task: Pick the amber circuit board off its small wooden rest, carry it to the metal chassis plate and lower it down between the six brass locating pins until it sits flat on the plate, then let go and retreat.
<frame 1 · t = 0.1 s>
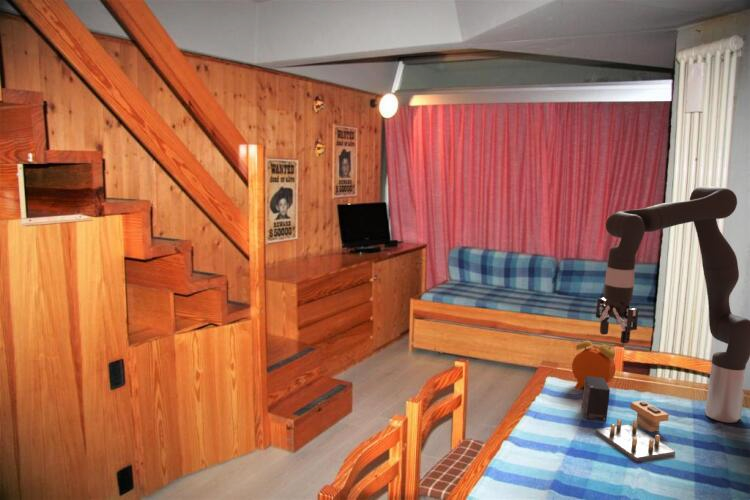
hand: (613, 338, 171), 29 cm above the table, fingers open, 8 cm apart
alarm clock: (591, 389, 209), on the table
rest: (647, 426, 181), on the table
small box: (594, 414, 189), on the table
chassis: (633, 443, 170), on the table
board: (648, 414, 180), point 4 cm above the table, touching rest
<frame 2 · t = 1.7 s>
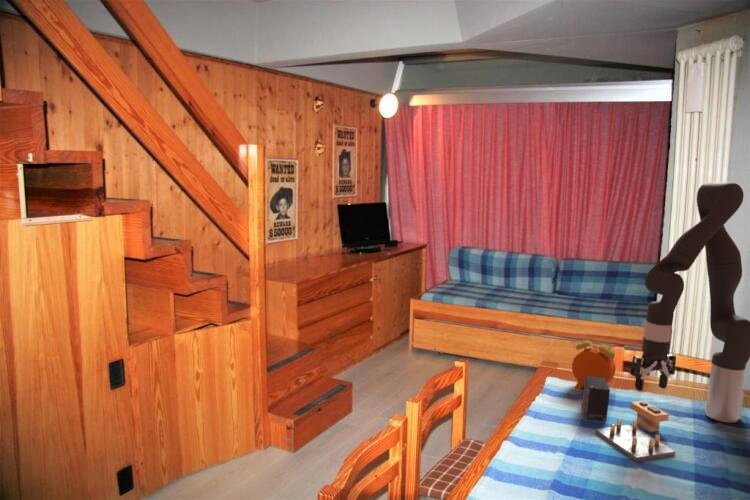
hand: (650, 388, 179), 12 cm above the table, fingers open, 8 cm apart
nothing on the table moved.
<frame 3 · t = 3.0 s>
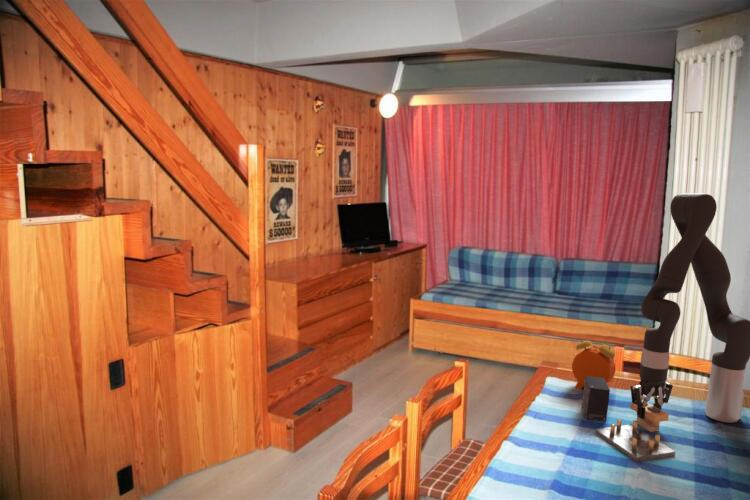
hand: (648, 416, 180), 3 cm above the table, fingers closed on board, 5 cm apart
board: (648, 414, 180), point 4 cm above the table, touching gripper, rest
everything else where it was.
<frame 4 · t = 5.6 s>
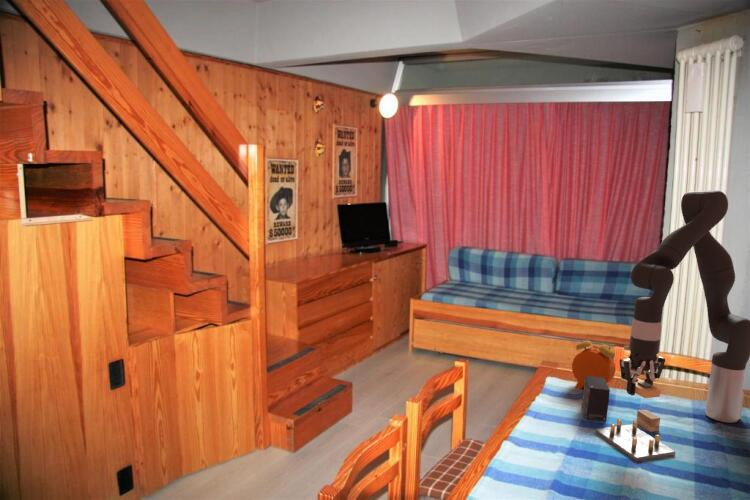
hand: (638, 393, 167), 15 cm above the table, fingers closed on board, 5 cm apart
board: (639, 390, 167), point 16 cm above the table, touching gripper
everything else where it was.
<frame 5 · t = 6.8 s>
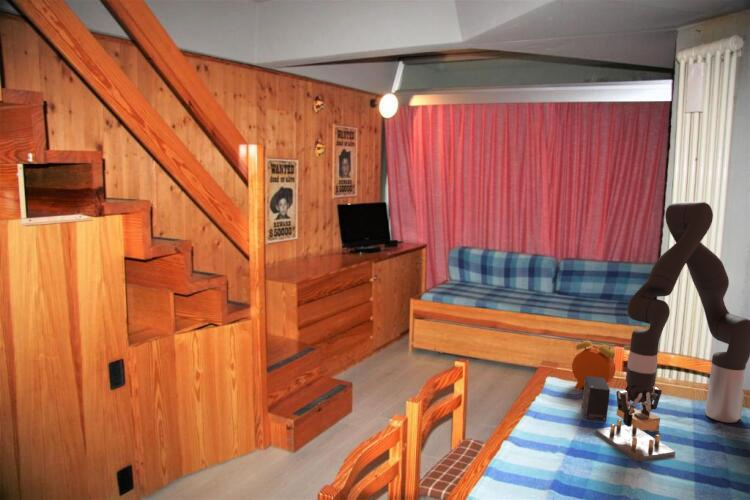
hand: (635, 424, 169), 6 cm above the table, fingers closed on board, 5 cm apart
board: (635, 421, 169), point 7 cm above the table, touching gripper
everything else where it was.
when the fingers open (2 cm above the table, at t = 8.0 s): board drops 1 cm, resting on chassis.
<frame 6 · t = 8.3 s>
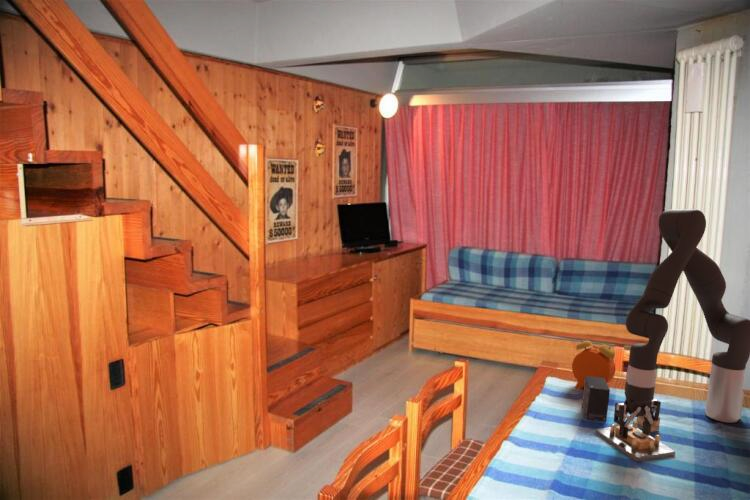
hand: (634, 436, 169), 2 cm above the table, fingers open, 7 cm apart
board: (634, 439, 170), point 1 cm above the table, touching chassis
everything else where it was.
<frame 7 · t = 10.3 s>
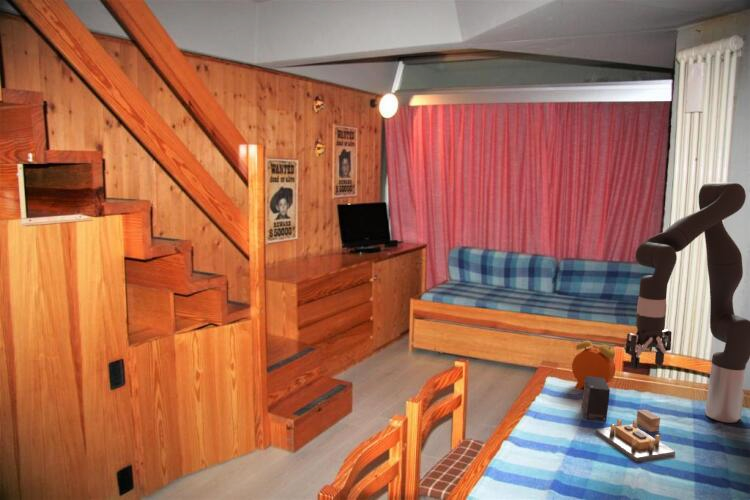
hand: (646, 366, 172), 21 cm above the table, fingers open, 8 cm apart
nothing on the table moved.
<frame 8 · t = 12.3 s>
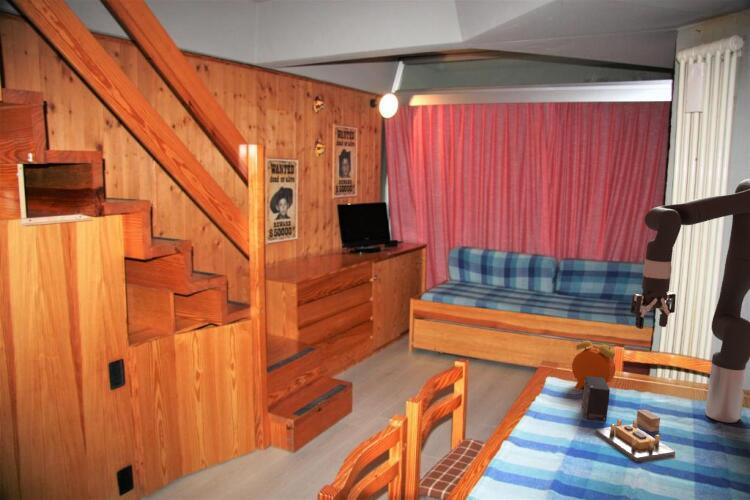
hand: (650, 327, 180), 30 cm above the table, fingers open, 8 cm apart
nothing on the table moved.
at the end: board 0.1 cm off-centre on the chassis, point 1.2 cm above the chassis's base; board tilted 0°; the gripper is holding nothing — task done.
